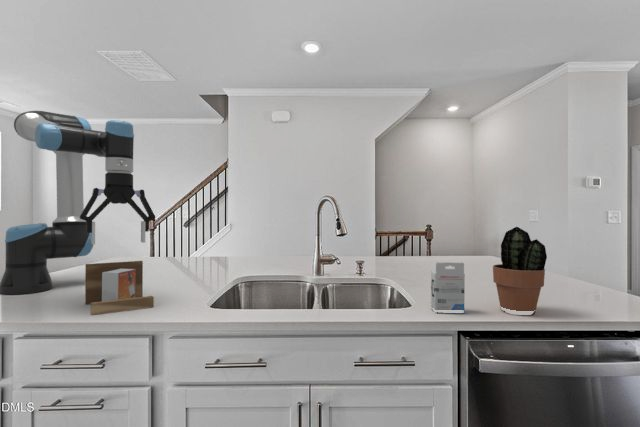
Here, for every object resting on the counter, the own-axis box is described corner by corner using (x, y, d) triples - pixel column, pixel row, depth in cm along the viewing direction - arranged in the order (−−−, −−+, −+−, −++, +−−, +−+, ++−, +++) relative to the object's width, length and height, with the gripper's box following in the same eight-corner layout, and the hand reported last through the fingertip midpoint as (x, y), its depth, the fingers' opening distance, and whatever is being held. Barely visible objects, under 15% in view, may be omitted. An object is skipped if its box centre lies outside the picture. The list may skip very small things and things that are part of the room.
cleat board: (85, 303, 120) (85, 264, 120) (141, 296, 129) (141, 260, 129) (91, 315, 106) (91, 271, 106) (153, 307, 116) (153, 266, 116)
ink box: (458, 309, 117) (459, 260, 116) (464, 314, 112) (465, 262, 111) (430, 309, 117) (430, 260, 116) (434, 313, 112) (435, 262, 112)
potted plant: (494, 315, 110) (495, 227, 110) (490, 304, 123) (491, 225, 123) (549, 320, 106) (550, 228, 105) (539, 308, 118) (540, 226, 118)
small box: (117, 308, 114) (118, 272, 114) (101, 307, 115) (101, 272, 115) (136, 302, 121) (136, 268, 121) (120, 301, 123) (120, 268, 123)
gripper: (71, 169, 108) (71, 245, 108) (165, 174, 122) (165, 242, 122) (69, 171, 114) (69, 243, 114) (159, 176, 128) (159, 240, 128)
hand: (118, 243), depth 118 cm, fingers open, 13 cm apart
